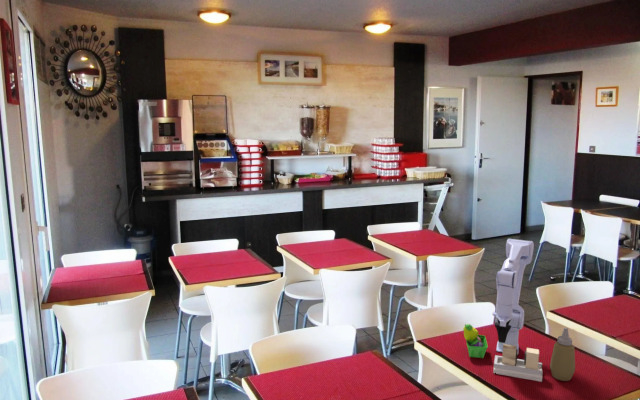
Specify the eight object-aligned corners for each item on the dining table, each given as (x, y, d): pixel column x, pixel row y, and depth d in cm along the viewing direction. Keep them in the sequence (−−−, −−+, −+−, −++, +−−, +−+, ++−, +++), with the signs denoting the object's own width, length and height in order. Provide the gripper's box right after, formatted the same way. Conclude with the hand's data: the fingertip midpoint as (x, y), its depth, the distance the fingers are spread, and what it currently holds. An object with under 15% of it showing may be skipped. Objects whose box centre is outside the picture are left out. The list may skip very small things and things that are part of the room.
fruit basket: (487, 360, 198) (489, 331, 196) (462, 357, 200) (464, 329, 198) (484, 347, 209) (486, 320, 207) (461, 345, 211) (462, 318, 209)
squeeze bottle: (572, 374, 188) (577, 325, 185) (575, 384, 180) (580, 334, 178) (548, 370, 191) (552, 322, 188) (549, 380, 183) (554, 331, 180)
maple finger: (502, 361, 193) (503, 343, 192) (516, 364, 191) (517, 346, 190) (501, 366, 189) (503, 348, 188) (516, 369, 188) (517, 350, 187)
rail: (494, 361, 197) (496, 339, 196) (541, 369, 191) (543, 347, 190) (493, 373, 188) (494, 350, 187) (541, 381, 182) (543, 358, 181)
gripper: (494, 295, 201) (492, 329, 203) (492, 307, 188) (489, 344, 190) (514, 297, 198) (511, 332, 200) (513, 310, 185) (510, 347, 187)
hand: (502, 338), depth 195 cm, fingers open, 7 cm apart
